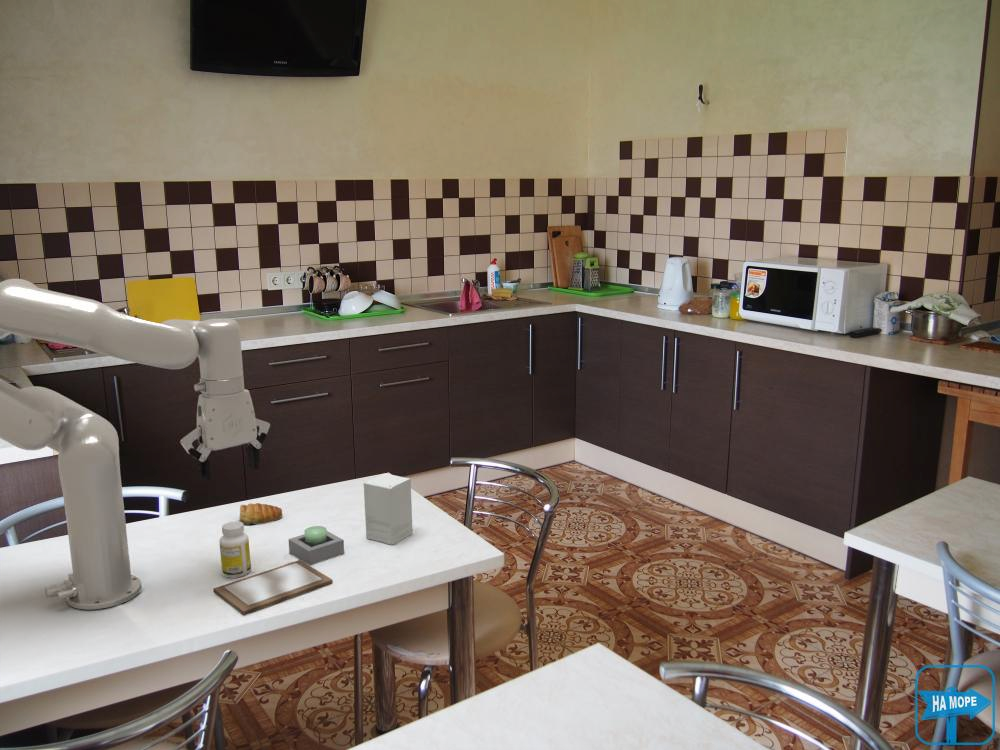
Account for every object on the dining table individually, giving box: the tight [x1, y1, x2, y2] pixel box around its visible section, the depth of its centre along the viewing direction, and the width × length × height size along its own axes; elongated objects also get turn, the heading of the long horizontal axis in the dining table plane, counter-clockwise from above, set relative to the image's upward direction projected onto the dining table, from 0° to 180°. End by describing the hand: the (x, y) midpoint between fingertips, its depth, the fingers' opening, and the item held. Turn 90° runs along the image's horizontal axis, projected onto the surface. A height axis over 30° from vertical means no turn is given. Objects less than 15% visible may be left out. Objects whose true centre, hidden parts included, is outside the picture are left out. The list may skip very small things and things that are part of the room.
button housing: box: [288, 530, 345, 566], centre depth 175 cm, size 8×8×3 cm
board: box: [213, 559, 334, 616], centre depth 160 cm, size 18×12×1 cm, turn 133°
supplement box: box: [363, 473, 413, 545], centre depth 182 cm, size 7×7×13 cm
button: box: [303, 525, 328, 544], centre depth 174 cm, size 4×4×2 cm
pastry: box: [238, 502, 283, 526], centre depth 193 cm, size 9×7×4 cm
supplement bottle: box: [219, 520, 252, 579], centre depth 166 cm, size 5×5×10 cm
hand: (229, 473), depth 163 cm, fingers open, 9 cm apart
